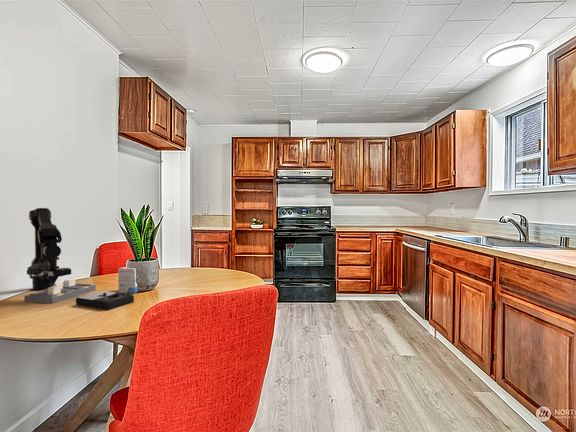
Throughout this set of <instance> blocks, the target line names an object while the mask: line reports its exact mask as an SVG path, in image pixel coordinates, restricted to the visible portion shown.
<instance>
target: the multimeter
mask: <svg viewBox="0 0 576 432" xmlns="http://www.w3.org/2000/svg"><path fill="white" fill-rule="evenodd" d="M134 296H135V295H133V294H132V293H119V292H115V291H109V290H108V291H107V290H101V291H97V292H93V293H88V294H86V295H85V294H84V295H80V296H76V298H75V306H78V307H83V308H90V309H94V310H95V309H97V310H103V311H111V310H114V309H117V308H121V307H123V306H126V305H130V304H132V303H134V301H135V297H134Z"/></svg>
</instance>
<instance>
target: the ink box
mask: <svg viewBox="0 0 576 432" xmlns="http://www.w3.org/2000/svg"><path fill="white" fill-rule="evenodd" d="M117 273H118V275H117V276H118V279H117V280H118V293H125V294H136V293H138V292H137V283H136V269H135V268H126V267H125V266H123V267H119V268H118V271H117Z"/></svg>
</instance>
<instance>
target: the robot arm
mask: <svg viewBox="0 0 576 432" xmlns="http://www.w3.org/2000/svg"><path fill="white" fill-rule="evenodd" d="M28 220H30V224H31V225H32V226H33V228H34V257H33V260H32V261H31V263H30V266H28V267H27V268H26V269H27V270H26V275H28V277H29V278H30V279H32V288H29V291H44V290H48V288H49V287H53V285H54V284H55V282H57V280H58V278H59V277H63V276H67V275H72V269H71V268H70V267H61V268H60V266H59V265H58V260H60V257H59V256H60V255H61V253H62V249H61V247H60V246H59V245H58V243H59V244H61V243H62V240H63V238H62V237H63V236H62V234H61V231H60V230H59V229H58V227H57V225H56V224H53V223H52V210H50V208H48V207H37V208H35V209H32V210H30V211H29V212H28Z"/></svg>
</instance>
